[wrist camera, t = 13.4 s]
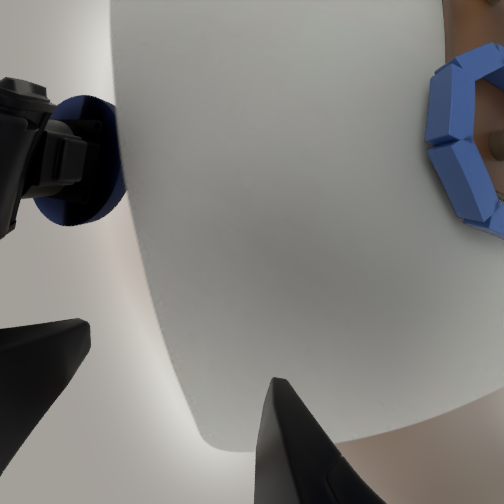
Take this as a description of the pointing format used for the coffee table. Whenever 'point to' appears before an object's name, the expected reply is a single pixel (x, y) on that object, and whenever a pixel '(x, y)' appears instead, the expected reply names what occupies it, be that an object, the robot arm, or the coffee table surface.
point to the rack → (486, 94)
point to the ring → (464, 136)
